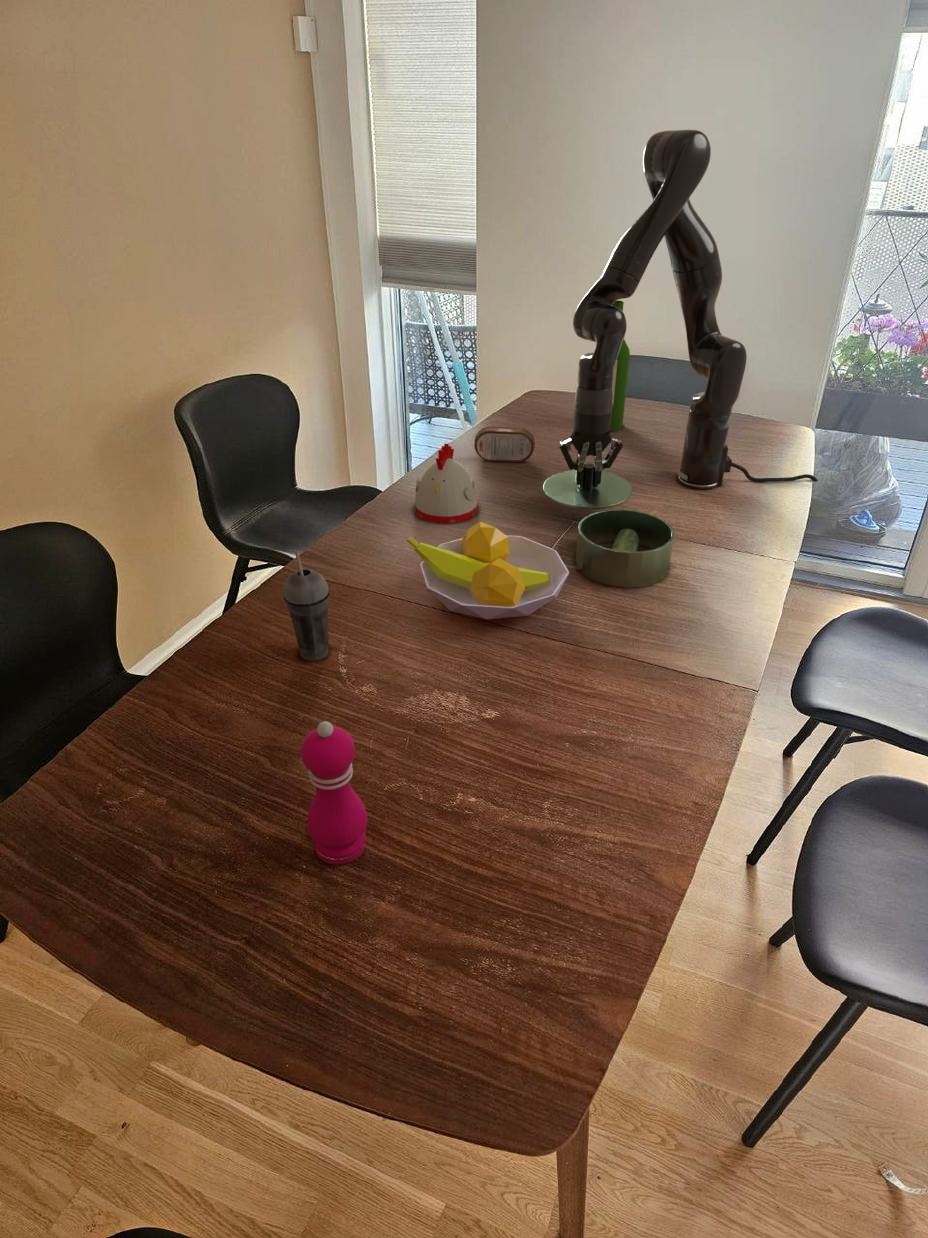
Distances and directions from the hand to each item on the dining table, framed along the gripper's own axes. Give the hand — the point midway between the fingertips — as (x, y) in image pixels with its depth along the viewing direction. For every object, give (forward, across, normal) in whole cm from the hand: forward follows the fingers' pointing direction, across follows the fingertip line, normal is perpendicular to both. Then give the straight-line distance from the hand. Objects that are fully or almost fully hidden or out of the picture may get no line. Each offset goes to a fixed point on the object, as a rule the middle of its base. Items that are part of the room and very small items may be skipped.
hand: (587, 485), depth 172 cm
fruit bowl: (+7, +24, +32) cm, 40 cm away
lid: (+1, 0, 0) cm, 1 cm away
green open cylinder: (+7, -4, +22) cm, 23 cm away
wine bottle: (+7, -15, -54) cm, 56 cm away
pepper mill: (+6, +46, +90) cm, 101 cm away
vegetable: (+6, -4, +22) cm, 23 cm away
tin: (+7, +15, -31) cm, 35 cm away
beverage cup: (+6, +54, +49) cm, 73 cm away
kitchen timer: (+7, +30, -4) cm, 31 cm away
